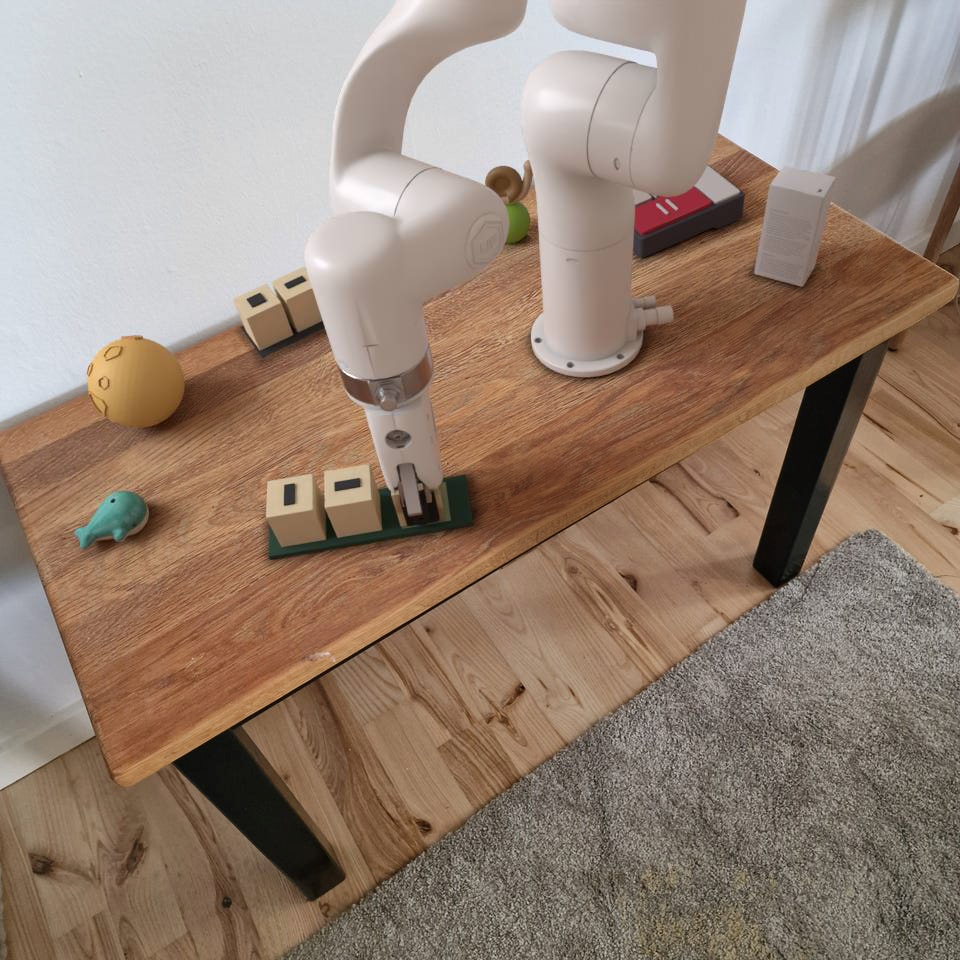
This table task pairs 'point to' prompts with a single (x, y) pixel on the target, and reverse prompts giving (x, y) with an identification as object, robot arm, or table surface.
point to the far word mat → (280, 313)
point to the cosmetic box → (793, 225)
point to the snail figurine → (512, 197)
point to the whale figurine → (115, 519)
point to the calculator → (684, 213)
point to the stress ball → (135, 382)
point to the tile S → (436, 490)
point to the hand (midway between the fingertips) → (420, 499)
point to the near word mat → (388, 522)
